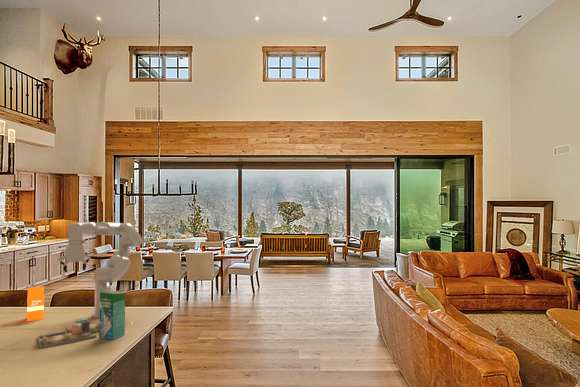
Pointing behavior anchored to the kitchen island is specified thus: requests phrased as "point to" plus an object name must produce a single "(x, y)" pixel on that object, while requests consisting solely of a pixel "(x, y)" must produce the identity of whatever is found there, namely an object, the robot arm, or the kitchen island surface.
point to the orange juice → (35, 303)
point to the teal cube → (81, 321)
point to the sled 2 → (91, 328)
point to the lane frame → (62, 341)
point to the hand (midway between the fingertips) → (74, 271)
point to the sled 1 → (68, 335)
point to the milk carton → (112, 315)
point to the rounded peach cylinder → (76, 329)
